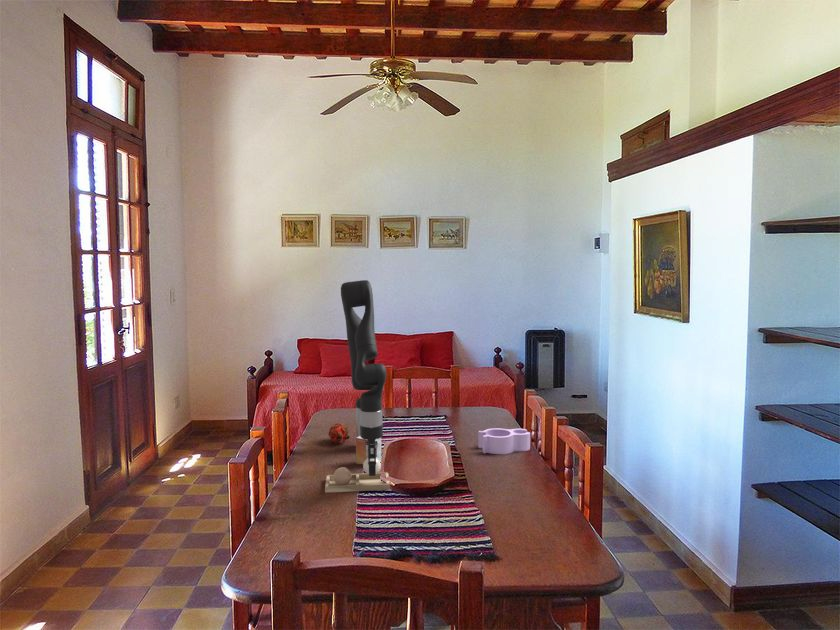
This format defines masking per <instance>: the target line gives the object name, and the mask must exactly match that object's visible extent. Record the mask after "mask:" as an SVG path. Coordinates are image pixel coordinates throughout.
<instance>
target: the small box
mask: <svg viewBox="0 0 840 630" xmlns="http://www.w3.org/2000/svg"><path fill="white" fill-rule="evenodd" d="M366 441H368V440H367V439H363V438H361V436H359V437H357V436H356V437H355V464H356V465H363V463H364V461H365V460H366V459H367V449H366ZM375 441H377V443H378V448H377V457H376V458H378V459H379V461H380V462H381V463H382V437H381V438H379V439H376V440H375Z"/></svg>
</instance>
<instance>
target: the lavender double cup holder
mask: <svg viewBox="0 0 840 630" xmlns="http://www.w3.org/2000/svg"><path fill="white" fill-rule="evenodd" d="M477 441H478V443H477V444H478V445H477V447H478V448H479V449H482V454H487V453H488V454H491V455H492V454H493V455H508V454H511V453H514V452H527V451H529V450H531V432H530V431H528V429H525V428H511V429H510V428H508V429H507V428H500V427H499V428H498V427H497V428H496V427H495V428H487V429H485V430H478V439H477Z"/></svg>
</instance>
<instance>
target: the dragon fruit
mask: <svg viewBox="0 0 840 630" xmlns="http://www.w3.org/2000/svg"><path fill="white" fill-rule="evenodd" d="M348 429H349V427H348V426H347V425H344V424H343V423H342V422H341V423H334V424H333V425H332V426H331V427H330V428H329V431H328V437H329V440H330V441H331V442H332V443H333V444H334V445H339V444H340V443H341V444H343V443H345V442H346V441H347V440H349V439H350V438H351V435H349V434H350V433H349V430H348Z"/></svg>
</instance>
